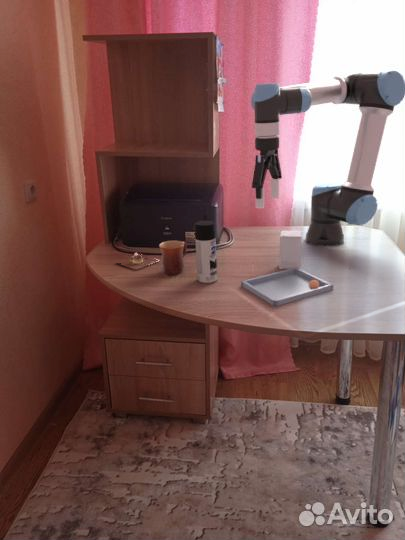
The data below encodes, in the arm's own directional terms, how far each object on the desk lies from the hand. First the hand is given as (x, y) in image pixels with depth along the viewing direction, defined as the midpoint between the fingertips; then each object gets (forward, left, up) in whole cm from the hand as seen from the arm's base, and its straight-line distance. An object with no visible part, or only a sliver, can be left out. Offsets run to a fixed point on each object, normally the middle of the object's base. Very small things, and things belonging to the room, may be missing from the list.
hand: (267, 203), depth 155 cm
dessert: (+35, -34, -25) cm, 55 cm away
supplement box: (-9, +1, -24) cm, 26 cm away
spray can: (+21, -5, -24) cm, 33 cm away
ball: (-2, +22, -23) cm, 32 cm away
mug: (+26, -19, -24) cm, 40 cm away
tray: (+4, +16, -24) cm, 30 cm away
